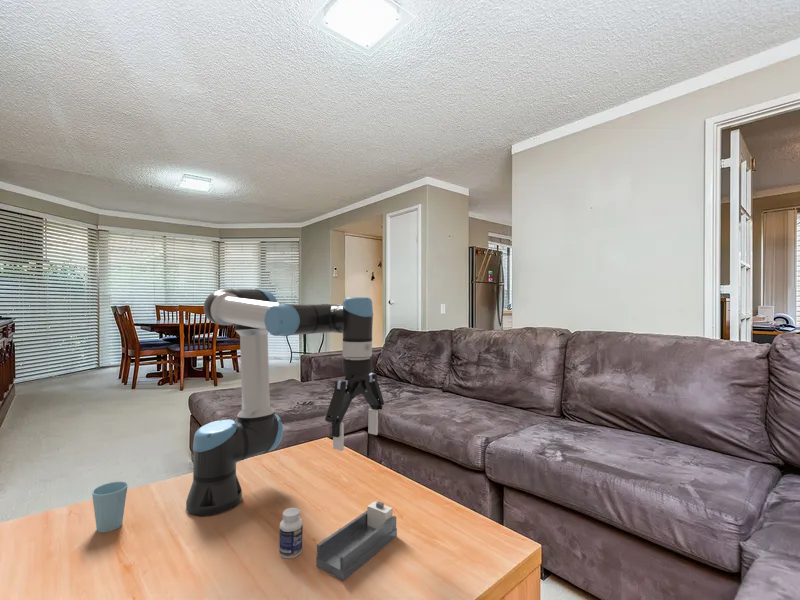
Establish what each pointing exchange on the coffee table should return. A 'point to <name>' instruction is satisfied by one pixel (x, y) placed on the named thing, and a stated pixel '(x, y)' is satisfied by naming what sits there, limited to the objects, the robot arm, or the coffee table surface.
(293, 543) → the pill bottle
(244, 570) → the coffee table surface
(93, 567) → the coffee table surface
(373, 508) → the mounted module
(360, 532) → the rail
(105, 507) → the cup
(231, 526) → the coffee table surface
